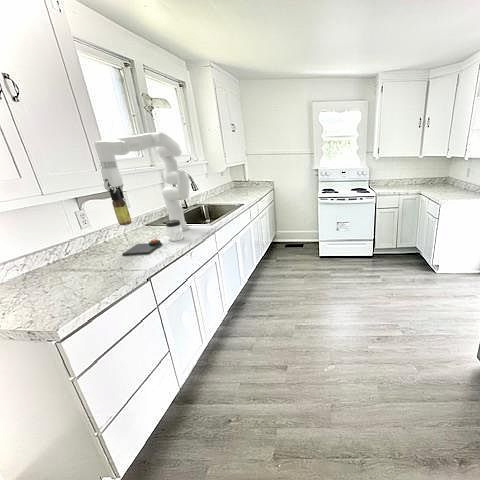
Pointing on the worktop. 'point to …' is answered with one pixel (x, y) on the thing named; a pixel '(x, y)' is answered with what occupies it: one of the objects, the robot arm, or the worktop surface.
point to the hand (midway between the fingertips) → (118, 199)
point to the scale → (142, 248)
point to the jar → (174, 230)
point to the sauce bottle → (121, 210)
